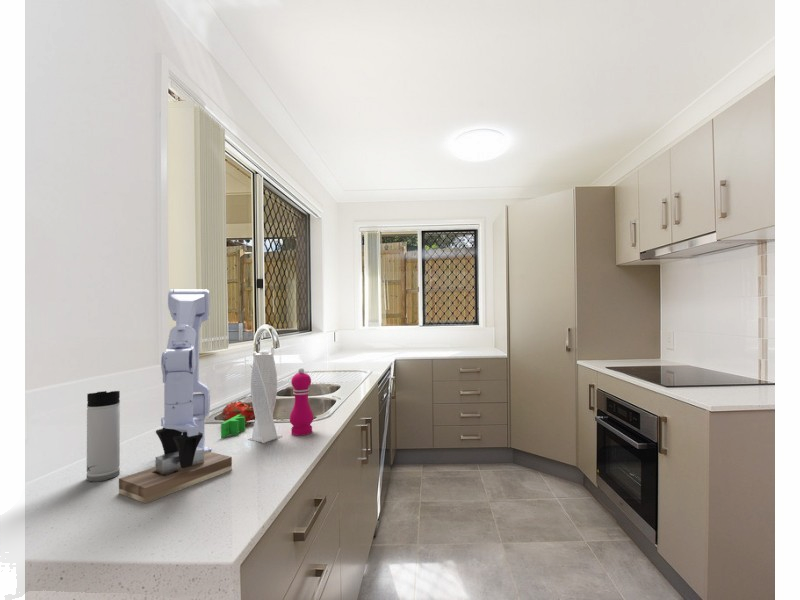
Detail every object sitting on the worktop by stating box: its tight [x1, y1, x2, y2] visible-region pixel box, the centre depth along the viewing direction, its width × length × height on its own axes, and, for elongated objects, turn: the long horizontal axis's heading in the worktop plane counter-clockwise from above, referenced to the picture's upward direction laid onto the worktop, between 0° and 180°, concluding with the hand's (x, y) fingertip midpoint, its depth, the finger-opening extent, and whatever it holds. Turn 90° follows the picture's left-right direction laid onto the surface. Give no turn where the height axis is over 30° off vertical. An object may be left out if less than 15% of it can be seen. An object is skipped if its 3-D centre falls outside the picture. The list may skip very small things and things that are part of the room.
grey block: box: [155, 447, 204, 476], centre depth 94 cm, size 4×9×5 cm, turn 141°
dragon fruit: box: [221, 400, 255, 426], centre depth 141 cm, size 8×8×12 cm
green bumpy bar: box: [220, 415, 246, 439], centre depth 131 cm, size 11×4×5 cm, turn 175°
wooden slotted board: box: [118, 451, 233, 504], centre depth 94 cm, size 10×20×3 cm, turn 150°
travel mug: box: [86, 390, 121, 483], centre depth 97 cm, size 6×7×20 cm
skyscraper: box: [247, 345, 283, 444], centre depth 124 cm, size 8×8×28 cm
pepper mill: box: [289, 367, 314, 436], centre depth 130 cm, size 7×7×20 cm
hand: (178, 463), depth 94 cm, fingers open, 7 cm apart
